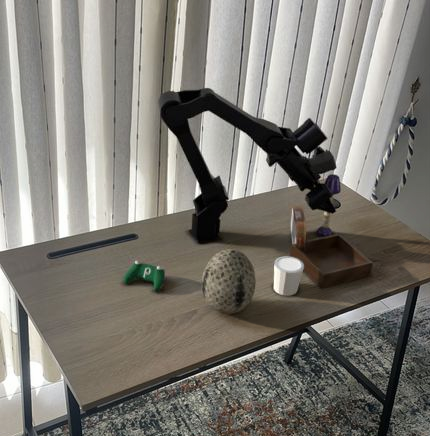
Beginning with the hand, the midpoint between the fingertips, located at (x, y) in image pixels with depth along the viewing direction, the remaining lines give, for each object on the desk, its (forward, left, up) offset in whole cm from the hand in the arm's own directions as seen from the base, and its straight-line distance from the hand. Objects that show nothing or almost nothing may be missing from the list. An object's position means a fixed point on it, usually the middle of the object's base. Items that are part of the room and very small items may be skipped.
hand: (329, 203), depth 175 cm
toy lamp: (0, 0, -9) cm, 9 cm away
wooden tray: (-8, -14, -9) cm, 18 cm away
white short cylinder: (-23, -18, -9) cm, 31 cm away
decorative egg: (-40, -20, -9) cm, 46 cm away
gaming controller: (-53, -4, -9) cm, 54 cm away
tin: (-10, -2, -9) cm, 13 cm away
